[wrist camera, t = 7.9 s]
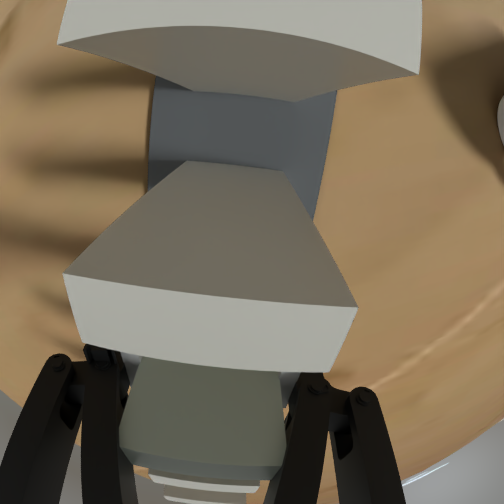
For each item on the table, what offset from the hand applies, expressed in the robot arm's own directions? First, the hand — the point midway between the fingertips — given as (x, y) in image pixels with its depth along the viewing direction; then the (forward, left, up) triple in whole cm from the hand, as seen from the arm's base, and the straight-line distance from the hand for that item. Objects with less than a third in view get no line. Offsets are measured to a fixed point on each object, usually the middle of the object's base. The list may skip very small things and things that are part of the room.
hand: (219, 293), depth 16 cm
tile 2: (-6, 0, -3) cm, 6 cm away
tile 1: (-12, 0, -3) cm, 12 cm away
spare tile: (0, 0, -2) cm, 2 cm away
